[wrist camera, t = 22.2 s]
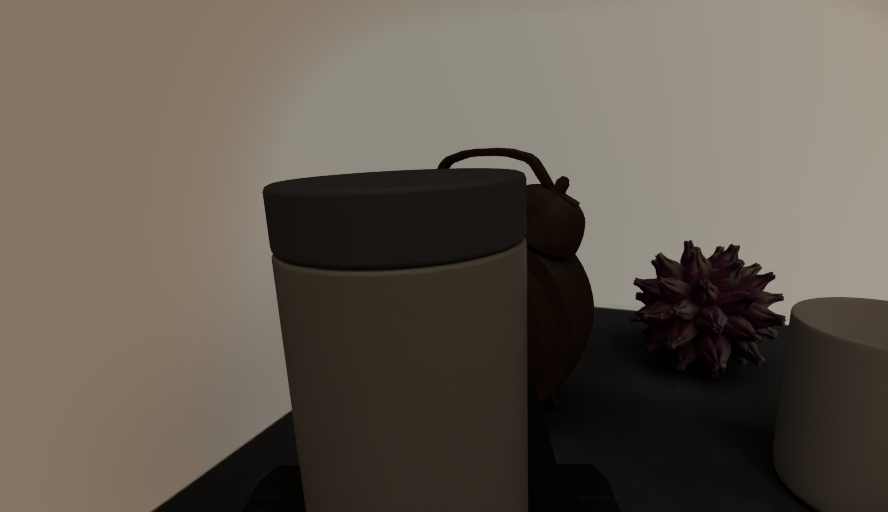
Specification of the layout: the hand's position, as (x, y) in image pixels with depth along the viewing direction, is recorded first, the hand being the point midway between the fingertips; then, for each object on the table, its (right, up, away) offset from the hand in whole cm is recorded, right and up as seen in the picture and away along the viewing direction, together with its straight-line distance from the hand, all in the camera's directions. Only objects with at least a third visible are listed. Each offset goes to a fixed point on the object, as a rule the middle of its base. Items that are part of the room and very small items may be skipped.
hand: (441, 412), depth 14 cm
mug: (+23, -9, +11) cm, 27 cm away
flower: (+23, -5, +27) cm, 36 cm away
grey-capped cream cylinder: (0, -11, -3) cm, 12 cm away
